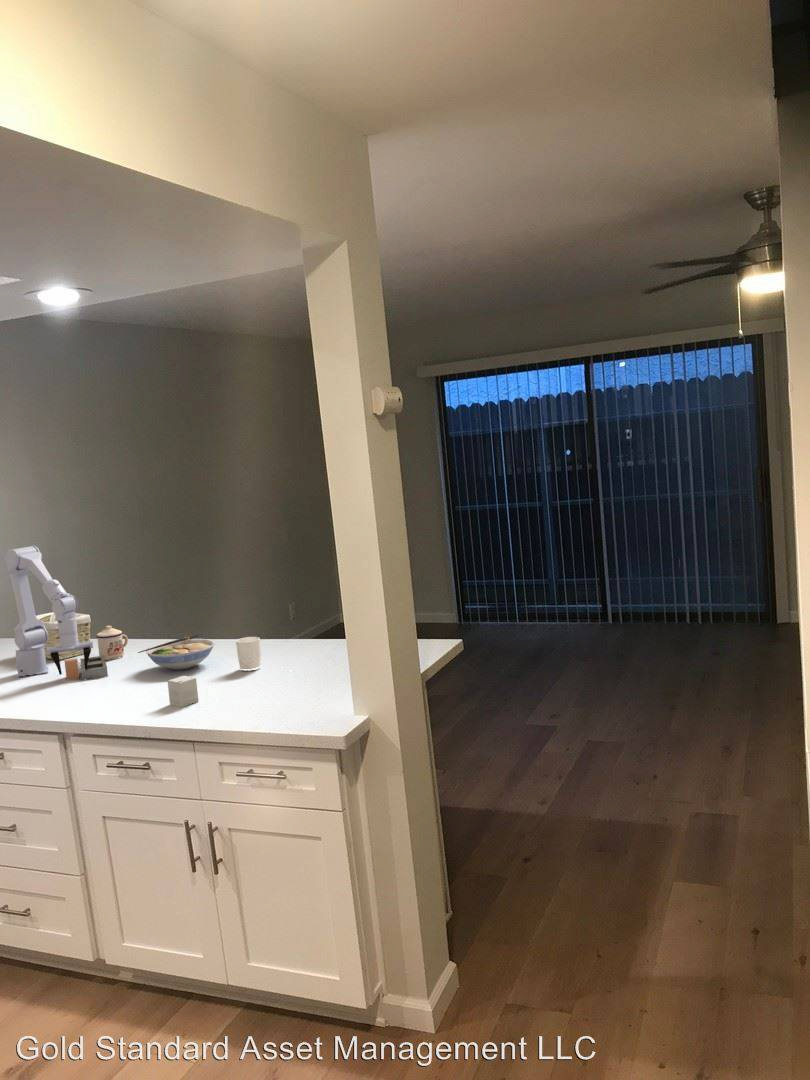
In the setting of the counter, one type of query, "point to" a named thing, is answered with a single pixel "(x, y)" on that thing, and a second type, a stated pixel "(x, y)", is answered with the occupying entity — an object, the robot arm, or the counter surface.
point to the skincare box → (182, 691)
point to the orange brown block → (71, 668)
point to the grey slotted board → (94, 667)
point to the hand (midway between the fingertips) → (73, 671)
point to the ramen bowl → (180, 652)
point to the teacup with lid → (111, 643)
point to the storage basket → (54, 637)
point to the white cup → (248, 652)
